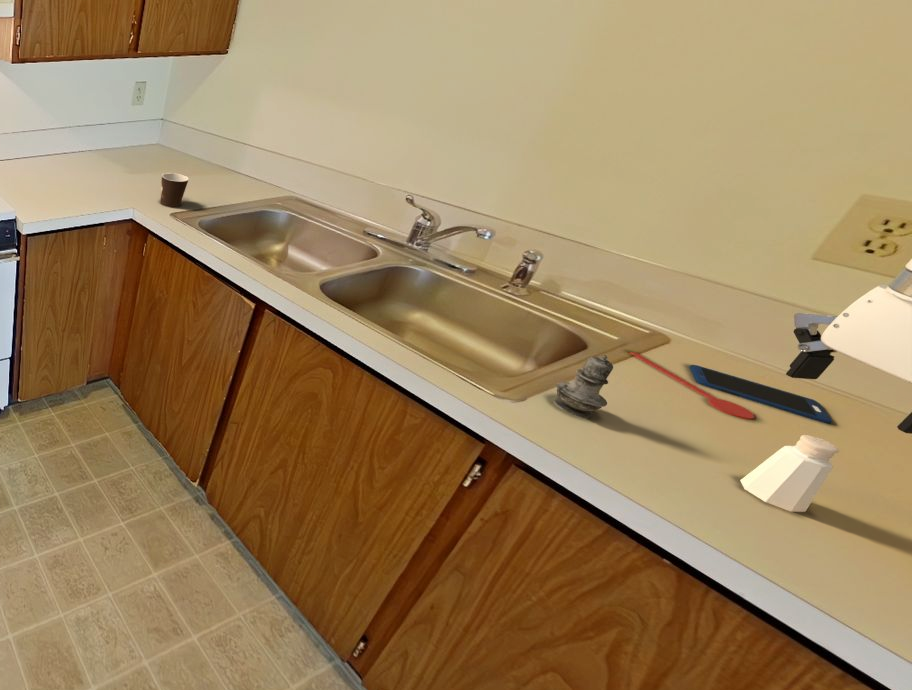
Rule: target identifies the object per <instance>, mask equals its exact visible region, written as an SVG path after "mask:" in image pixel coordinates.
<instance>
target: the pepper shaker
mask: <svg viewBox="0 0 912 690" xmlns="http://www.w3.org/2000/svg"><path fill="white" fill-rule="evenodd" d="M839 452H840V449H839V448H838V447H837V446H836V445H835V444H833V443H831V442H829V441H827V440H825V439H822V438H820V437H817V436H814V435H807V434H803V435H801V436H800V439H799V440H797V442H796V444H794V445H784V446H782V447H781V448H780V449H778V450H777V451H775V453H773V454H772V455H770V456H769V457H768V458H767V459H765V460H764V461H763V462H761V463H760V464H759V465H758V466H757V467H756V468H754V469H753V470H751V471H750V472H749V473H748V474H746V475H745V476H744V477H742V478H741V479H740V483H741V485H742V487H743V489H744V490H745V491H746V492H749V493H750V494H751V495H753V496H755V497H757V498H758V499H759V500H761V501H763V502H764V503H766V504H769V505H771V506H774V507H778V508H780V509H783V510H786V511H788V512H791V513H793V512H794V513H795V512H796V513H805V512H807V510H808V508H809V507H810V505H811V503H812V502H813V500H814V499H815V498H816V495H817V494H818V492H819V491H820V490H821V487H822V486H823V485H824V482H825V481H826V480H827V478H828V476H829V475H830V473H831V471H832V470H833V466H834V465H833V464H832V462H831V461H830V459H832V458H833V457H834V456H835V454H838V453H839Z"/></svg>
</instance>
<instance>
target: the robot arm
mask: <svg viewBox="0 0 912 690" xmlns="http://www.w3.org/2000/svg"><path fill="white" fill-rule="evenodd" d="M793 319H794V327H795V329H794V330H793V334H794V336H795V338H796V339H797V342H798V344H797V349H798V350H799V351H800V352H799V353H798V354H797V356H796V357H795V358H794V359H793V361H792V362H791V363H790V364H789V369H788V370H787V372H786V373H785V375H786V376H788V377H790V378H793V379H802V380H803V379H804V380H817V379H819V377H820V376H822V374H823V373H824V372H825V371H826V369H827V368H828V367H829V366H830V365H831V364H832V363H833V362H834V361H835V356H834V355H832V354H835V353H839V354H841V355H844V356H846V357H847V358H851V359H853V360H855V361H857V362H860V363H861V364H864V365H867V366H868V367H871V368H872V369H873V368H874V369H875V370H878V371H881V372H883V373H885V374H887V375H890V376H893V377H895V378H897V379H899V380H902V381H904V382H907V383H909V384H912V258H910V260H909V261H908V262H907V263H906V264H905V266H904V267H903V268H902V269H901V270H900V272H898V274H897V275H896V276H895V277H894V278H893V279H892V280H891V282H890V283H888V284H879V285H877V286H875V287H874V288H872V289H871V290H869V291H868V292H866V293H864V294H863V295H861V296H860V297H859V298H857V299H856V300H855V301H854V302H852V303H851V304H850V305H848V307H846V308H845V309H844V310H843V311H842V312H841V313H840V314H838V315H831V314H830V315H827V314H817V313H804V312H803V313H802V312H797V313H795V314H794V315H793ZM820 325H828V326H827V327H826V328H825V330H824V331H823V333H822V334H821V333H820V331H819V330H818V329H819V326H820ZM896 429H897V430H899V431H901V432H902V433H905V434H909V435H910V434H911V435H912V411H911V412H910V413H909V414H908V415H907V416H906V417H905V418H904V419H903V420H902V421H900V423H899V424H898V425H897V427H896Z"/></svg>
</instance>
